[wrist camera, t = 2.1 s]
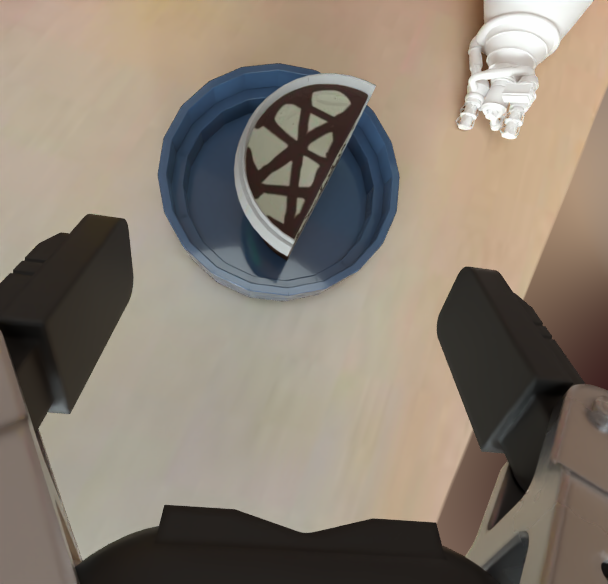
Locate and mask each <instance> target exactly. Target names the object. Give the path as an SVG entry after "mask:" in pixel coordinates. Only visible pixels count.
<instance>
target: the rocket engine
mask: <svg viewBox="0 0 608 584" xmlns="http://www.w3.org/2000/svg"><path fill="white" fill-rule="evenodd" d="M593 1H594V0H484V25H483V26H482V27H481V28H480V30H479V31H478V33H477V35H476V36H475V37H474V38H473V39H472V40H471V42H470V45H469V50H468V54H469V67H470V71H471V77H470V78H469V80H468V84H469V85H468V86H467V95H466V96H465V104H464V105H466V108H465V111H464V112H461V109H462V108H463V107H462V108H461V109H460V112H461V114H460V117H461V118H462V119H460V120H461V121H460V124H459V123H457V121H458V119H459V118H460V117H459V118H458V119H457V120H456V123H457V125H458V127H459V128H460V129H462V130H469V129H472V127H470V126H471V125H472V120H475V119H476V118H477V116H478V114H476V113H475V112H476V110H477V109H478V110H479V111H483V113H484V114H485V117H486V118H487V119H489V120H491V121H490V126H491V130H493V131H497V130H500V127H501V126H502V125H503V124H504V123H505V124H506V128H505V130H504V132H502V131H501V130H500V132H501V134H502V137H504V138H507V139H514V138H517V137H516V136H517V135H518V134H519V131H518V133H517V132H516V130H517V128H518V127H519V130H520V126H522V124H523V122H522V121H521V117H522V115H523V120H524V116H525V115H524V113H525V112H527V110H528V109H529V108H530V106H531V104H532V103H533V101H534V100H535V98H536V94H535V90H537V89H538V87H539V84H538V78H537V77H536V76H535V71H534V69H535V68H536V66H537V65H538V64H540V63H541V62H543V61H544V60H545V58H546V57H548V56H550V55H551V54H552V53H554V52H555V51H556V49H557V48H558V46H559V44H560V41H561V39H562V38H563V37H564V36H565V35H566V34H567V33H568V31H569V30H570V29H571V28H572V27H573V25H574V24H575V23H576V22H577V21H578V19H579V18H580V17H581V16H582V15H583V13H584V12H585V11H586V9H587V8H588V7H589V6H590V4H591V3H592V2H593ZM481 52H482V53H484V54H485V55H487V60H486V62H487V65H488V66H489V69H488V70H485V71H481V68H482V67H483V63H482V55H481ZM488 79H491V81H490V82H491V87H490V86H489V82H488ZM489 87H490V89H489ZM484 98H485V100H484ZM483 102H484V103H483ZM509 102H510V108H509V112H510V113H511V114H510V115H507V116H510V117H509V118H507V119H506V118H505V117H506V116H505V115H506V114H507V113H508V112H507V113H506V111H507V106H508V104H509ZM462 110H464V109H462ZM505 113H506V114H505ZM475 114H476V115H475ZM503 114H505V115H504V116H503ZM498 118H500V122H499V120H498ZM504 119H505V121H504ZM503 121H504V123H503ZM502 123H503V124H502ZM472 126H473V127H474V123H473V125H472ZM503 127H505V126H503ZM503 127H501V128H503ZM516 133H517V135H515V134H516Z"/></svg>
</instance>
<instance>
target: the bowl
mask: <svg viewBox="0 0 608 584" xmlns="http://www.w3.org/2000/svg"><path fill="white" fill-rule="evenodd" d="M315 74H321V73H320V72H318V71H316V70H315V71H314V70H312V69H307V68H302V67H296V66H291V65H286V64H281V63H279V64H278V63H276V64H266V65H256V66H247V67H241V68H238V69H236V70H234V71H231V72H229V73H227V74H224V75H222V76H220V77H218V78H215V79H213V80H211V81H209V82H208V83H207V84H205V85H204V86H203V87H202V88H201V89H200V90H199V91H198V92H196V93H195V94H194V95H193V96H192V97H191V98H190V99H189V100H187V101H186V102H185V103H184V104H183V105H182V106H181V108H180V110H179V111H178V113H177V115H176V117H175V119H174V120H173V122H172V124H171V126H170V128H169V129H168V131H167V133H166V135H165V137H164V139H163V145H162V151H161V157H160V163H159V169H158V180H159V186H160V192H161V197H162V203H163V209H164V212H165V215H166V217H167V218H168V220H169V222H170V224H171V226H172V227H173V229H174V231H175V233H176V235H177V237H178V238H179V240H180V242H181V244H182V246H183V247H184V249H185V250H186V251H187V253H188V254H189V256H190V257H191V258H192V260H193V261H195V262H196V263H197V264H198V265H199V266H200V267H201V268H202V269H203V270H204V271H205V272H206V273H207V274H209V275H210V276H211V277H212V278H213V279H214V280H215V281H216V282H218V283H219V284H222V285H224V286H226V287H228V288H230V289H232V290H235V291H237V292H239V293H241V294H243V295H245V296H248V297H251V298H259V299H267V300H275V301H289V300H294V299H300V298H305V297H310V296H315V295H318V294H320V293H322V292H324V291H326V290H327V289H329V288H331V287H333V286H334V285H336V284H338V283H340V282H342V281H343V280H345V279H347V278H348V277H350V276H351V275H353V274H354V273H356V272H357V271H359V270H360V269H361V268H362V266H363V265H364V264H365V263H366V262H367V261H368V260H369V259H370V258H371V256H372V255H373V254H374V253H375V252H376V251H377V250H378V249H379V248H380V246H381V245H382V244H383V242H384V240H385V238H386V235H387V233H388V231H389V228H390V226H391V224H392V221H393V219H394V217H395V214H396V211H397V202H398V190H399V178H400V177H399V172H398V167H397V163H396V159H395V155H394V150H393V146H392V142H391V140H390V139H389V137H388V135H387V133H386V132H385V130H384V128H383V127H382V125H381V123H380V121H379V120H378V118H377V116H376V115H375V113H374V112H373V110H372V109H371V108H370V107H368V106H367V105H366V107H365V109H364V111H363V113H362V115H361V117H360V119H359V121H358V123H357V125H356V127H355V129H354V131H353V133H352V135H351V137H350V139H349V141H348V143H347V145H346V147H345V150H344V152H343V154H342V156H341V158H340V160H339V162H338V164H337V166H336V168H335V170H334V171H333V173H332V175H331V177H330V179H329V181H328V183H327V185H326V187H325V189H324V191H323V193H322V194H321V196H320V198H319V200H318V202H317V204H316V206H315V208H314V210H313V212H312V214H311V216H310V217H309V219H308V221H307V223H306V225H305V227H304V229H303V231H302V233H301V235H300V237H299V239H298V240H297V242H296V244H295V246H294V248H293V250H292V252H291V254H290V256H289V258H288V260H287V261H286V260H285V259H283V258H281V257H280V256H278V255H277V254H276V253H274V252H273V251H272V250H271V249H270V248H269V247H268V246H267V244H266V243H265V242H264V241H263V239H262V237H261V236H260V235H259V233H258V232H257V231H256V230H255V229H254V228H253V226H252V225H251V223H250V221H249V220H248V218H247V217H246V215H245V213H244V211H243V209H242V206H241V204H240V201H239V199H238V195H237V190H236V186H235V177H234V164H235V155H236V151H237V147H238V144H239V140H240V138H241V136H242V133H243V131H244V129H245V127H246V125H247V123H248V121H249V118H250V117H251V116H252V114H253V113H254V111H255V110H256V108H257V107H258V106H259V105H260V104H261V103H262V102H263V101H264V100H265V99H266V98H267V97H268V96H269V95H271V94H272V93H273V92H275V91H276V90H277V89H279V88H280V87H282V86H283V85H285V84H287V83H289V82H291V81H293V80H295V79H299V78H302V77H305V76H308V75H315Z"/></svg>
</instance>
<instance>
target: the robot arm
mask: <svg viewBox="0 0 608 584" xmlns="http://www.w3.org/2000/svg"><path fill="white" fill-rule="evenodd" d="M132 288H133V268H132V258H131V249H130V239H129V230H128V225H127V222H126V220H125V219H123V218H116V217H108V216H101V215H94V214H87V215H86V216H85V217H84V218H83V219H82V220H81V221H80V222H79V224H78V225H77V226H76V227H75V228H74V229H73V230H72V231H71V233H70V234H69V233H59V234H57V235H55V236H53V237H51V238H49V239H47V240H45V241H43V242H41V243H39V244H38V245H37V246H36V247H35V248H34V249H33V250H32V251H31V252H30V253H29V254H28V255H27V256H26V257H25V261H21V262H20V263H19V265H18V266H17V267H16V268H15V269H14V270H13V273H10V274H9V275H8V276H7V277H6V278H5V279H4V280H3V281H2V282H1V283H0V584H608V391H607V390H605V389H602V388H599V387H597V386H593V385H587V384H585V383H584V381H583V380H582V378H581V377H580V376H579V374H578V372H577V371H576V370H575V368H574V367H573V365H572V364H571V363H570V361H569V360H568V358H567V357H566V355H565V354H564V353H563V351H562V350H561V348H560V347H559V346H558V344H557V343H556V341H555V340H553V339H552V335H551V334H550V333H549V331H548V330H547V328H546V327H545V326H542V324H543V323H542V321H541V320H540V319H539V317H538V316H537V314H536V313H535V311H534V310H533V308H532V307H531V306H529V305H528V304H527V303H526V302H525V301H523V300H522V299H521V298H520V297H519V296H518V295H516V294H515V293H513V292H512V290H511V289H510V287H509V286H508V284H507V283H506V281H505V280H504V278H503V277H502V275H501V274H500V273H499V272H498V271H496V270H489V269H482V268H474V267H464V268H463V269H462V270H461V271H460V272H459V274H458V276H457V278H456V280H455V282H454V284H453V286H452V289H451V291H450V293H449V295H448V297H447V299H446V301H445V303H444V305H443V307H442V310H441V312H440V314H439V317H438V321H437V336H438V339H439V342H440V344H441V347H442V350H443V352H444V355H445V357H446V360H447V363H448V365H449V368H450V370H451V373H452V376H453V378H454V381H455V383H456V386H457V389H458V391H459V394H460V396H461V399H462V402H463V404H464V407H465V409H466V412H467V415H468V417H469V420H470V422H471V425H472V428H473V430H474V433H475V435H476V438H477V441H478V443H479V446H480V448H481V451H483V452H495V453H505V456H506V458H507V460H508V461H507V463H506V464H505V465H504V466H503V467H502V469H501V471H500V473H499V476H498V479H497V481H496V484H495V487H494V490H493V493H492V495H491V498H490V501H489V503H488V506H487V509H486V512H485V515H484V517H483V520H482V523H481V526H480V529H479V531H478V534H477V537H476V539H475V541H474V543H473V545H472V547H471V549H470V550H469V552H468V553H467V555H466V556H463V555H461V554H459V553H457V552H455V551H453V550H451V549H449V548H447V547H445V546H442V544H441V540H440V537H439V532H438V528H437V524H436V523H432V522H417V521H402V520H387V519H369V520H365V521H360V522H356V523H352V524H347V525H343V526H339V527H335V528H330V529H326V530H322V531H317V532H313V533H301V532H298V531H295V530H292V529H289V528H286V527H283V526H280V525H278V524H275V523H272V522H269V521H266V520H263V519H261V518H258V517H255V516H252V515H249V514H246V513H243V512H241V511H238V510H235V509H220V508H205V507H190V506H174V505H164V509H163V513H162V517H161V521H160V525H159V526H156V527H152V528H147V529H144V530H141V531H138V532H135V533H132V534H130V535H127V536H125V537H123V538H121V539H119V540H116V541H114V542H112V543H110V544H108V545H107V546H105V547H103V548H102V549H100V550H98V551H97V552H95V553H93V554H92V555H90V556H89V557H87V558H86V559H85V560H83V561H82V558H81V555H80V552H79V549H78V546H77V543H76V540H75V537H74V534H73V531H72V529H71V526H70V523H69V520H68V517H67V514H66V511H65V508H64V505H63V502H62V499H61V496H60V493H59V490H58V487H57V484H56V480H55V477H54V474H53V471H52V468H51V465H50V462H49V459H48V456H47V453H46V450H45V446H44V443H43V440H42V437H41V434H40V431H39V429H38V428H39V426H40V425H41V423H42V421H43V419H44V418H45V416H46V414H47V412H52V413H64V414H70V413H71V411H72V409H73V407H74V405H75V404H76V402H77V400H78V398H79V396H80V394H81V392H82V390H83V388H84V386H85V384H86V382H87V381H88V379H89V377H90V375H91V373H92V371H93V369H94V367H95V365H96V363H97V361H98V359H99V357H100V356H101V354H102V352H103V350H104V348H105V346H106V344H107V342H108V340H109V338H110V336H111V334H112V332H113V331H114V329H115V327H116V325H117V323H118V321H119V319H120V317H121V315H122V313H123V311H124V309H125V307H126V306H127V304H128V302H129V299H130V297H131V293H132Z"/></svg>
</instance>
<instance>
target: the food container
mask: <svg viewBox="0 0 608 584" xmlns="http://www.w3.org/2000/svg"><path fill="white" fill-rule="evenodd" d="M375 87H376V85H374V84H372V83H370V82H368V81H366V80H363V79H360V78H357V77H353V76H350V75H343V74H337V73H321V74H315V75H308V76H305V77H302V78H299V79H295V80H293V81H291V82H289V83H287V84H285V85H283V86H282V87H280V88H279V89H277V90H276V91H275V92H273V93H272V94H271V95H269V96H268V97H267V98H266V99H265V100H264V101H263V102H262V103H261V104H260V105H259V106H258V107H257V108H256V110H255V111H254V113H253V114H252V116H251V117H250V118H249V121H248V123H247V125H246V127H245V129H244V131H243V133H242V136H241V138H240V140H239V144H238V147H237V151H236V155H235V164H234V177H235V186H236V190H237V195H238V199H239V201H240V204H241V206H242V209H243V211H244V213H245V215H246V217H247V218H248V220H249V221H250V223H251V225H252V226H253V228H254V229H255V230H256V231H257V232H258V233H259V235H260V236H261V237H262V239H263V241H264V242H265V243H266V244H267V246H268V247H269V248H270V249H271V250H272V251H273V252H274V253H276V254H277V255H278V256H280V257H281V258H283V259H285V260H286V261H287V260H288V258H289V256H290V254H291V252H292V250H293V248H294V246H295V244H296V242H297V240H298V239H299V237H300V235H301V233H302V231H303V229H304V227H305V225H306V223H307V221H308V219H309V217H310V216H311V214H312V212H313V210H314V208H315V206H316V204H317V202H318V200H319V198H320V196H321V194H322V193H323V191H324V189H325V187H326V185H327V183H328V181H329V179H330V177H331V175H332V173H333V171H334V170H335V168H336V166H337V164H338V162H339V160H340V158H341V156H342V154H343V152H344V150H345V147H346V145H347V143H348V141H349V139H350V137H351V135H352V133H353V131H354V129H355V127H356V125H357V123H358V121H359V119H360V117H361V115H362V113H363V111H364V109H365V107H366V105H367V103H368V101H369V99H370V97H371V95H372V93H373V91H374V89H375Z"/></svg>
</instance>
